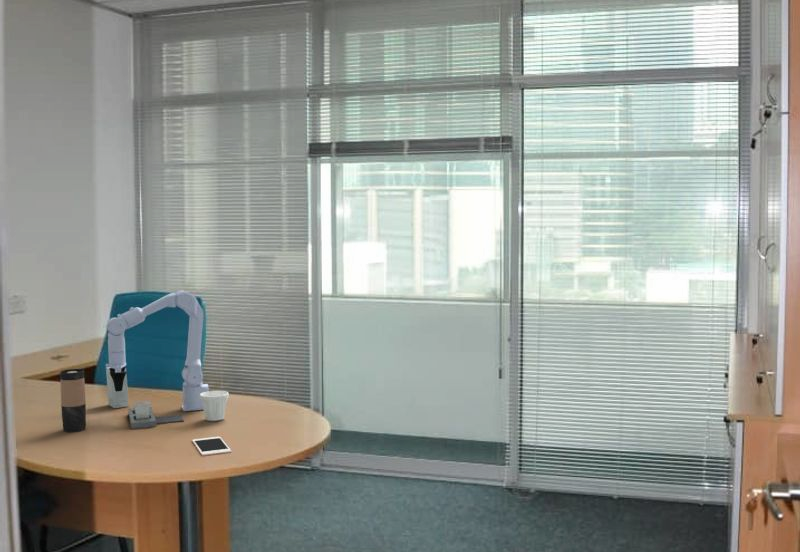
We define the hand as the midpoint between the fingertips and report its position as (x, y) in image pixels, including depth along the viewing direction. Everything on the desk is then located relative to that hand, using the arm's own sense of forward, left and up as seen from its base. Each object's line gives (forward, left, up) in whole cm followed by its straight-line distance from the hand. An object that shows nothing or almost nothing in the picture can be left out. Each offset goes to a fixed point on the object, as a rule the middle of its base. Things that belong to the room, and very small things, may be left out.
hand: (118, 389), depth 296 cm
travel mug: (+15, +13, -10) cm, 22 cm away
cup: (-31, +18, -10) cm, 37 cm away
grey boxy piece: (-7, +13, -10) cm, 18 cm away
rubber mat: (-16, +12, -10) cm, 23 cm away
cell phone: (-25, +52, -11) cm, 59 cm away
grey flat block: (-7, +9, -10) cm, 15 cm away
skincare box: (0, -18, -10) cm, 20 cm away
